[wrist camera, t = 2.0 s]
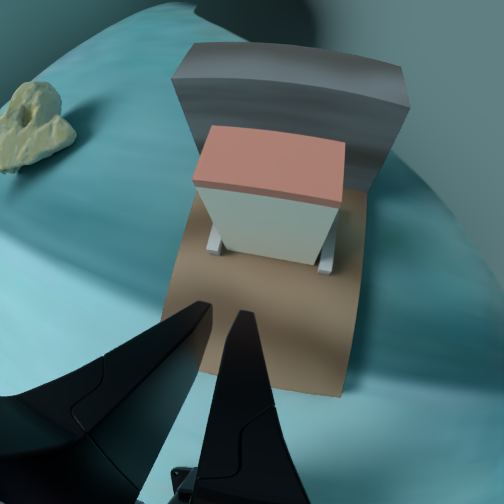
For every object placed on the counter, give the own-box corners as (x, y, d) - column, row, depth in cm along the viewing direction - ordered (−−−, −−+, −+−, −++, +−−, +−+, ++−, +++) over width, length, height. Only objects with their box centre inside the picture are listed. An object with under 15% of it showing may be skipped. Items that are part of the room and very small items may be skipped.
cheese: (99, 109, 32) (19, 78, 24) (94, 97, 25) (3, 63, 18) (53, 212, 33) (-24, 178, 26) (40, 222, 26) (-47, 181, 19)
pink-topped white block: (313, 265, 19) (341, 201, 11) (226, 249, 20) (191, 179, 12) (319, 224, 20) (345, 142, 12) (236, 210, 21) (211, 125, 12)
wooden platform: (336, 393, 18) (395, 439, 8) (160, 356, 20) (65, 359, 9) (363, 163, 24) (400, 66, 13) (220, 141, 25) (194, 43, 15)
